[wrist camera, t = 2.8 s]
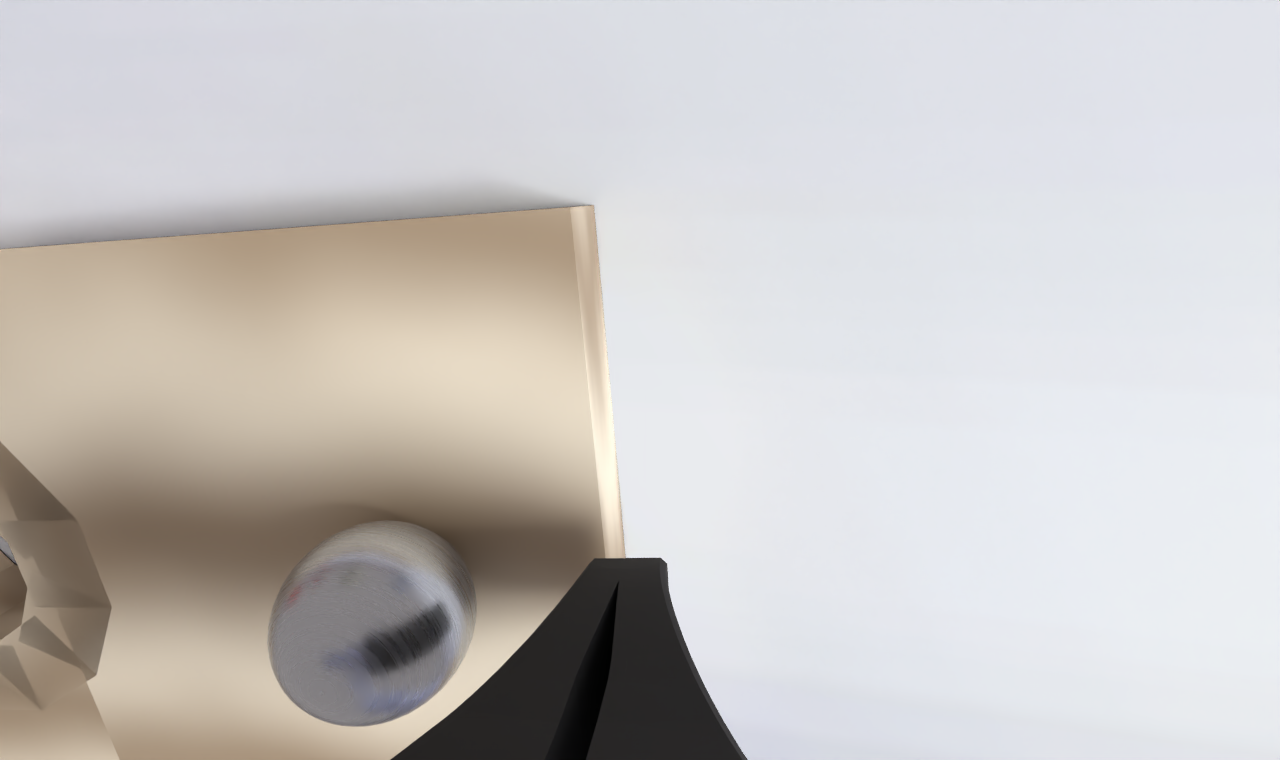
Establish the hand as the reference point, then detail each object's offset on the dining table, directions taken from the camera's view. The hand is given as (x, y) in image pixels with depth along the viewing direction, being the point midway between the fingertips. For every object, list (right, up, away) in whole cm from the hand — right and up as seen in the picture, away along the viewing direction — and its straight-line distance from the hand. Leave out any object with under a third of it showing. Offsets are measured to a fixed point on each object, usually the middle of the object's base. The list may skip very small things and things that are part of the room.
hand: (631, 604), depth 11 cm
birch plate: (-11, +1, +5) cm, 12 cm away
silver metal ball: (-5, 0, 0) cm, 5 cm away
